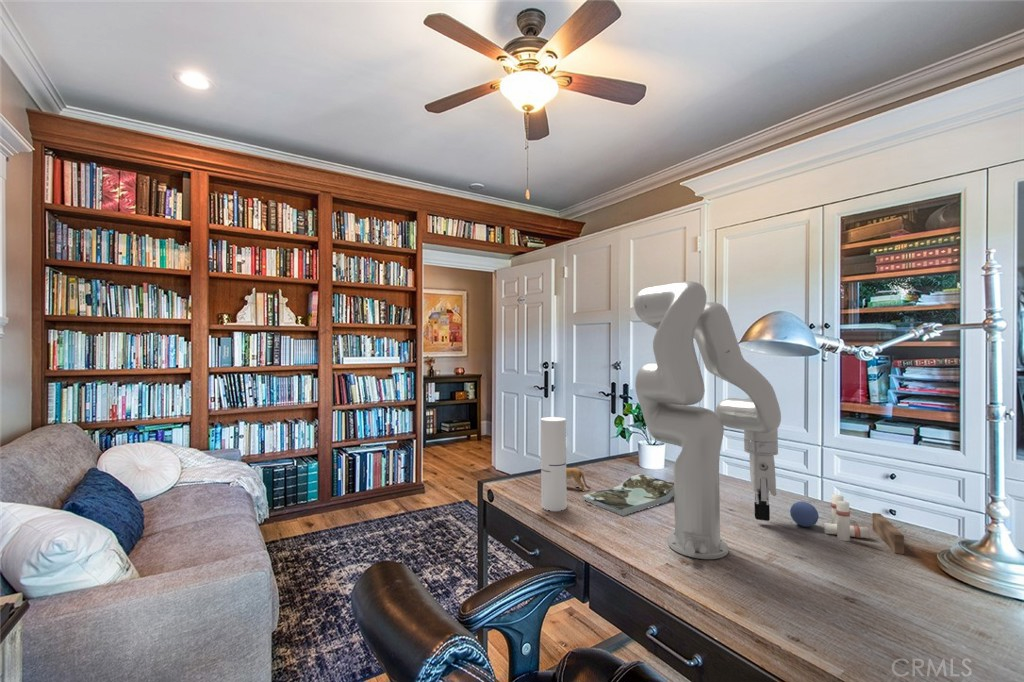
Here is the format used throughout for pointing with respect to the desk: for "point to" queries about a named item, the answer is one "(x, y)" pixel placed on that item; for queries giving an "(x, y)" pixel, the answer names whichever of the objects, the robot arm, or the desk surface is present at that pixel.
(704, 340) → the robot arm
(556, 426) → the cylindrical container
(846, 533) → the rear pin near
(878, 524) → the stopper rail
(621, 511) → the topographical model
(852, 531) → the front pin
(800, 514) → the ball
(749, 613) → the desk surface
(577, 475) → the lion figurine
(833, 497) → the rear pin far
